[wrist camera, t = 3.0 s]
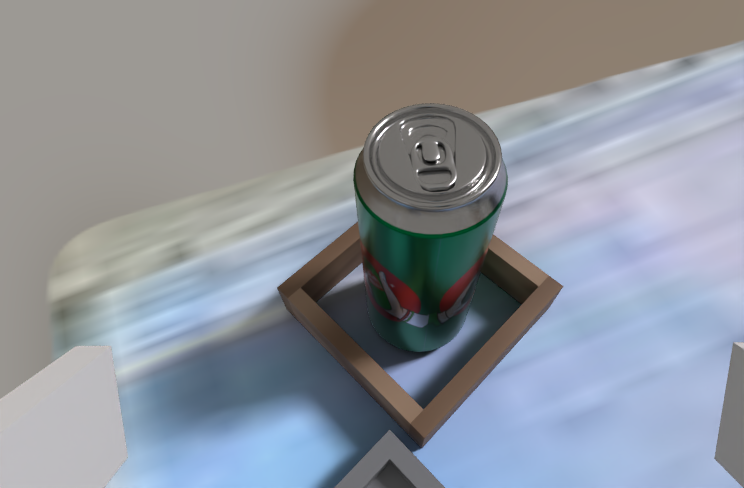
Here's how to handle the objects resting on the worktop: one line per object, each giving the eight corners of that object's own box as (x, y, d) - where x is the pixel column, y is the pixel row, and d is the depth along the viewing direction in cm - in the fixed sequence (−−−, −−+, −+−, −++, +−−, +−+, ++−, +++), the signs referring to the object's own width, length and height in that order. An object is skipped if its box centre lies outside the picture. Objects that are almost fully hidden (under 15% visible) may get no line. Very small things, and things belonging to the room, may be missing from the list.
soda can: (456, 262, 27) (496, 88, 17) (473, 351, 24) (533, 210, 14) (364, 269, 27) (347, 100, 16) (371, 359, 24) (355, 224, 14)
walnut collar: (548, 307, 25) (563, 286, 23) (421, 448, 22) (424, 438, 20) (412, 202, 29) (414, 175, 27) (286, 308, 26) (277, 287, 24)
